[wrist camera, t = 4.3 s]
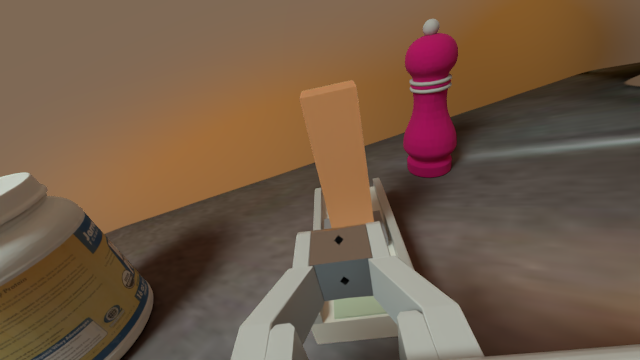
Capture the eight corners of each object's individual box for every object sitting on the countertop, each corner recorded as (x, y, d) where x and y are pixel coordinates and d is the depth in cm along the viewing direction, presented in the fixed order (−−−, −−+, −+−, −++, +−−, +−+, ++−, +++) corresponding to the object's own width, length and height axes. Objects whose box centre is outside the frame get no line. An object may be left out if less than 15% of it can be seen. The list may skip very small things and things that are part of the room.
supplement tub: (182, 295, 28) (76, 164, 19) (60, 442, 19) (-250, 316, 10) (116, 277, 33) (8, 166, 24) (-7, 388, 23) (-256, 271, 15)
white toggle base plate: (429, 333, 20) (430, 301, 18) (317, 344, 21) (305, 316, 19) (383, 203, 34) (381, 177, 32) (319, 213, 35) (312, 189, 33)
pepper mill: (396, 163, 42) (388, 27, 32) (436, 152, 42) (441, 14, 32) (418, 185, 36) (417, 24, 26) (465, 171, 36) (483, 8, 26)
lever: (388, 244, 24) (373, 85, 16) (326, 253, 24) (284, 104, 17) (380, 217, 27) (364, 75, 20) (325, 225, 28) (290, 91, 20)
